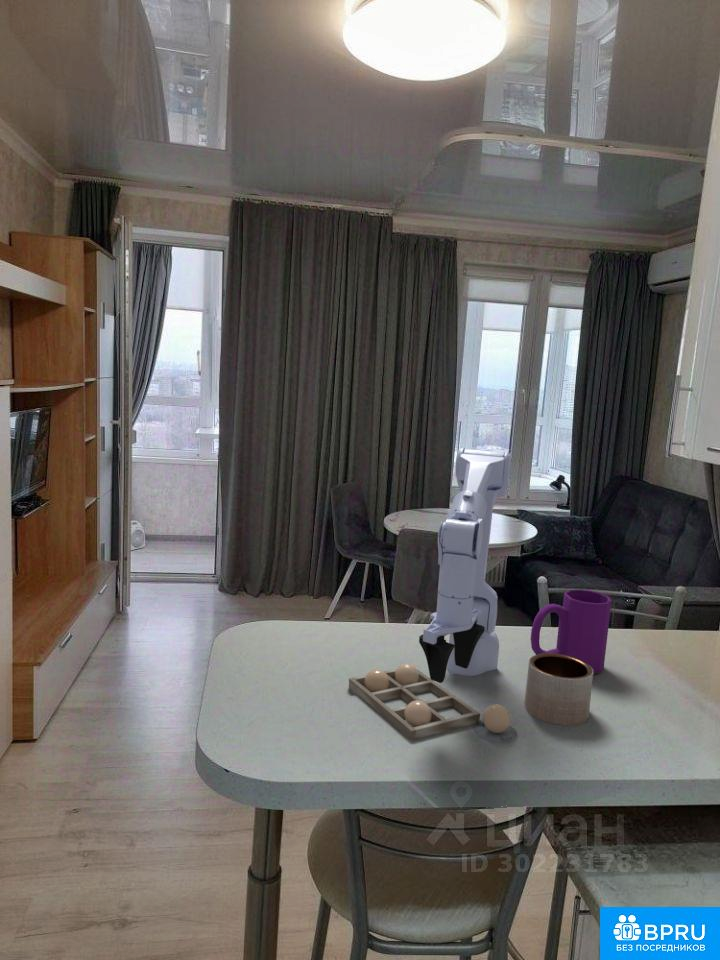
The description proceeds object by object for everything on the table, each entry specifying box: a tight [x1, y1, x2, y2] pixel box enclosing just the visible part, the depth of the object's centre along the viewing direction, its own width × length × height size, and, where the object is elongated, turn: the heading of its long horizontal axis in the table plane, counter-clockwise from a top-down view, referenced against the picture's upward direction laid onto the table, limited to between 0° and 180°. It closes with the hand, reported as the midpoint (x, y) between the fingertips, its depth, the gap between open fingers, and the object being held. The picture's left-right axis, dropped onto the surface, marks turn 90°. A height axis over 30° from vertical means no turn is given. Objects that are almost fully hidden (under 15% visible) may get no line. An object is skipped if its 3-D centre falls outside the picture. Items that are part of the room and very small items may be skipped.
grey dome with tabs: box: [473, 719, 519, 744], centre depth 112 cm, size 7×7×2 cm
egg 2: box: [395, 662, 419, 686], centre depth 127 cm, size 4×4×4 cm
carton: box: [348, 668, 481, 741], centre depth 120 cm, size 14×20×3 cm
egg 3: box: [404, 700, 431, 727], centre depth 112 cm, size 4×4×4 cm
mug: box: [530, 589, 612, 675], centre depth 142 cm, size 9×16×15 cm, turn 96°
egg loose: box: [482, 703, 512, 733], centre depth 112 cm, size 4×4×4 cm
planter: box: [523, 653, 594, 726], centre depth 120 cm, size 11×11×10 cm
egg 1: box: [364, 668, 389, 693], centre depth 123 cm, size 4×4×4 cm
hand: (449, 673), depth 114 cm, fingers open, 7 cm apart
